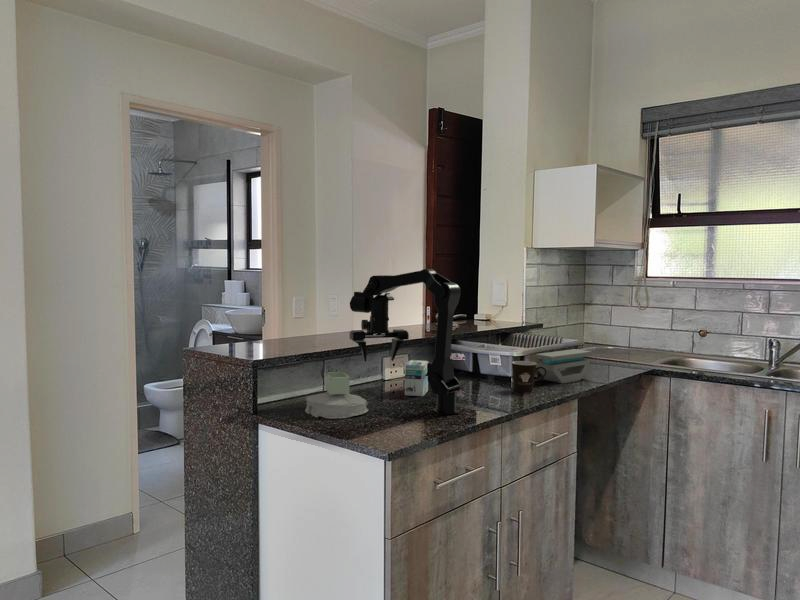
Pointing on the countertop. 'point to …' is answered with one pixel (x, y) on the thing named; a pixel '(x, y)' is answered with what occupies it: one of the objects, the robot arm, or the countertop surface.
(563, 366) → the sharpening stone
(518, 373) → the coffee mug
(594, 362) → the countertop surface
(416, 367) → the light bulb box
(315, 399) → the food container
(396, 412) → the countertop surface
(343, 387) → the crate
